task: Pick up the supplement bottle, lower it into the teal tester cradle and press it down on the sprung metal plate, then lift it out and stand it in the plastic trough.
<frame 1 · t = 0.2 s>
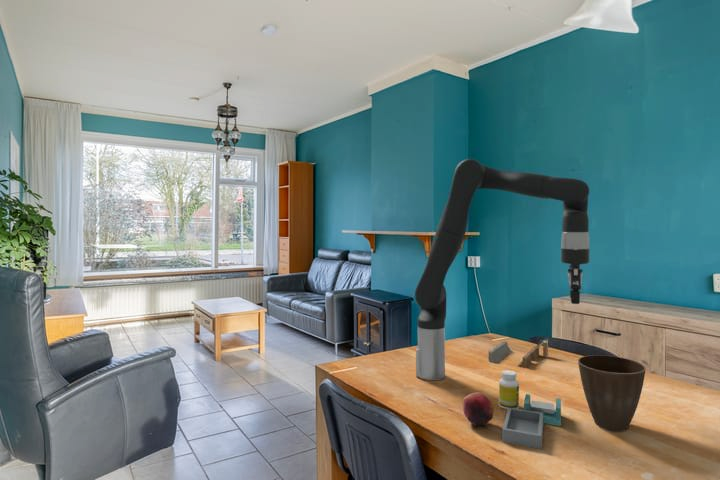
hand: (574, 301, 129), 29 cm above the table, tool pointing down, fingers open, 8 cm apart
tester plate: (542, 406, 116), point 3 cm above the table, slide at -0.1 cm
supplement bottle: (508, 407, 123), on the table
tester cradle: (542, 417, 116), on the table
fruit: (478, 425, 112), on the table
trough: (523, 432, 107), on the table
plant pot: (610, 425, 111), on the table
skate ramp: (530, 362, 165), on the table
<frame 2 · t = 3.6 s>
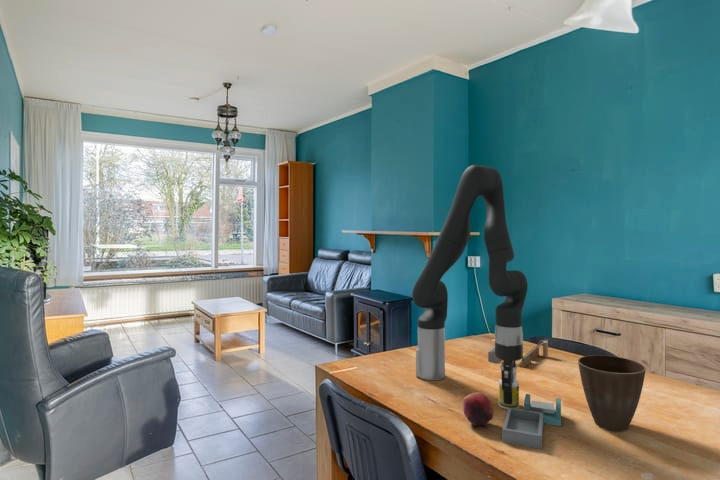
hand: (508, 399, 123), 2 cm above the table, tool pointing down, fingers closed on supplement bottle, 5 cm apart
supplement bottle: (508, 407, 123), on the table, touching gripper
everything else where it was.
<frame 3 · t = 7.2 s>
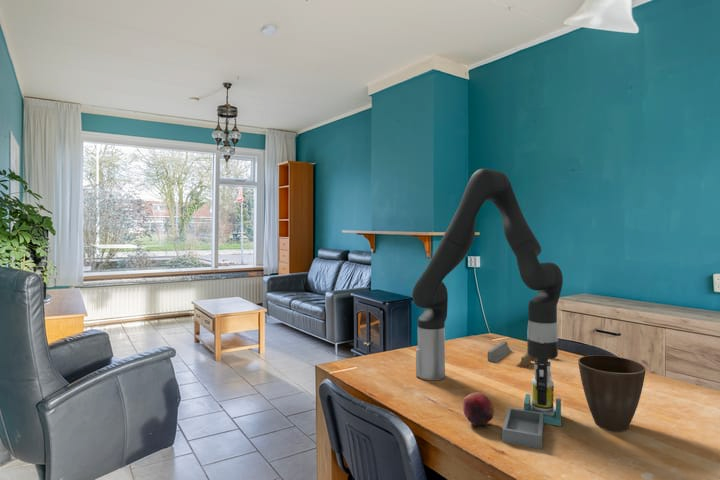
hand: (542, 400, 116), 5 cm above the table, tool pointing down, fingers closed on supplement bottle, 5 cm apart
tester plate: (542, 409, 116), point 2 cm above the table, slide at -0.8 cm, touching supplement bottle
supplement bottle: (542, 408, 116), point 2 cm above the table, touching gripper, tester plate
everything else where it was.
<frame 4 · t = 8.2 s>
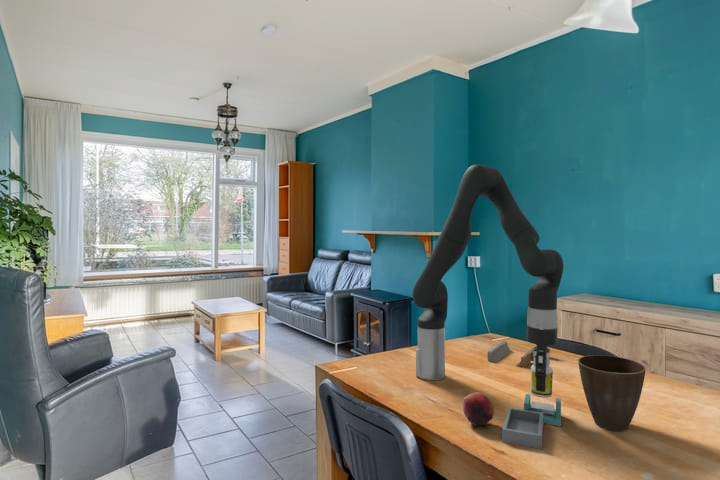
hand: (541, 386, 116), 8 cm above the table, tool pointing down, fingers closed on supplement bottle, 5 cm apart
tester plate: (542, 407, 116), point 3 cm above the table, slide at -0.4 cm
supplement bottle: (541, 395, 116), point 6 cm above the table, touching gripper
everything else where it was.
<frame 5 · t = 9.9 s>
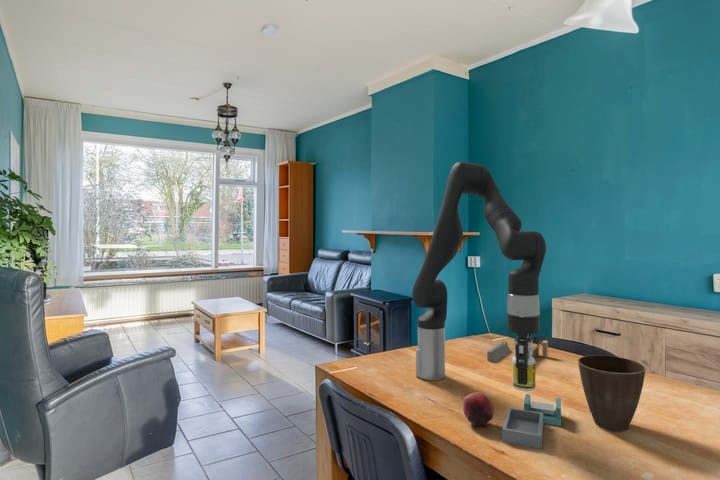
hand: (523, 379, 107), 13 cm above the table, tool pointing down, fingers closed on supplement bottle, 5 cm apart
supplement bottle: (523, 388, 107), point 11 cm above the table, touching gripper
everything else where it was.
when the fingers open (4 cm above the table, at t = 11.6 s): supplement bottle drops 1 cm, resting on trough.
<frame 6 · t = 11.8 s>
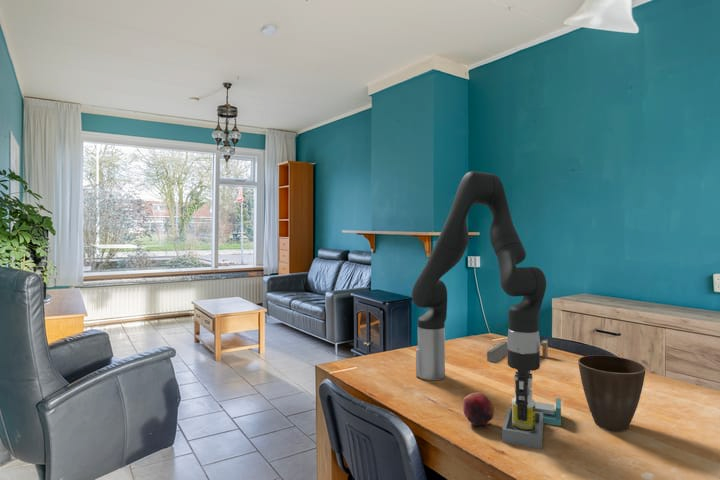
hand: (523, 413, 107), 5 cm above the table, tool pointing down, fingers open, 7 cm apart
supplement bottle: (523, 429, 108), point 1 cm above the table, touching trough
everything else where it was.
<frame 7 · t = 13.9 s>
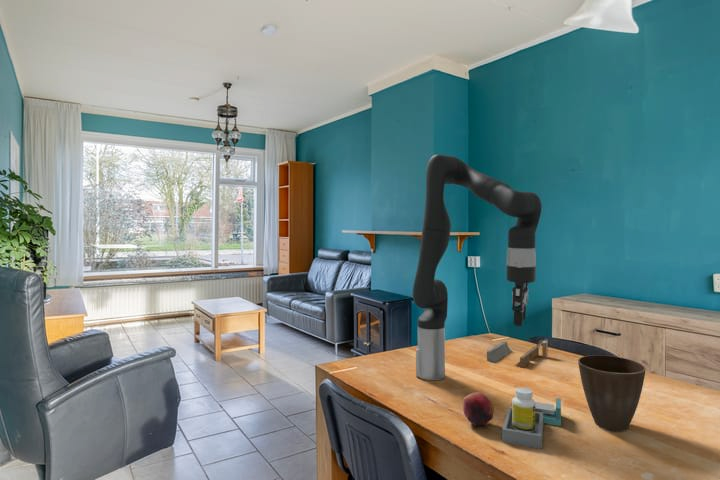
hand: (519, 322, 120), 25 cm above the table, tool pointing down, fingers open, 8 cm apart
nothing on the table moved.
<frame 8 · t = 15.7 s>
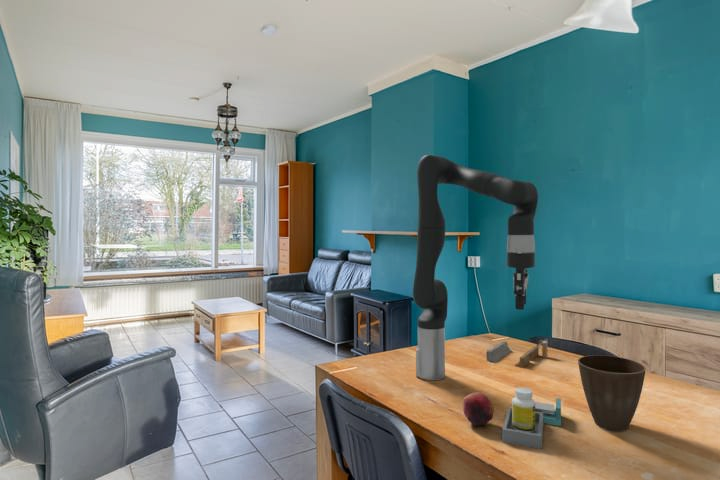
hand: (520, 306, 125), 28 cm above the table, tool pointing down, fingers open, 8 cm apart
nothing on the table moved.
at the end: supplement bottle inside the target area on the trough (0.2 cm from its centre), point 0.6 cm above the trough's base; supplement bottle tilted 0°; the gripper is holding nothing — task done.
